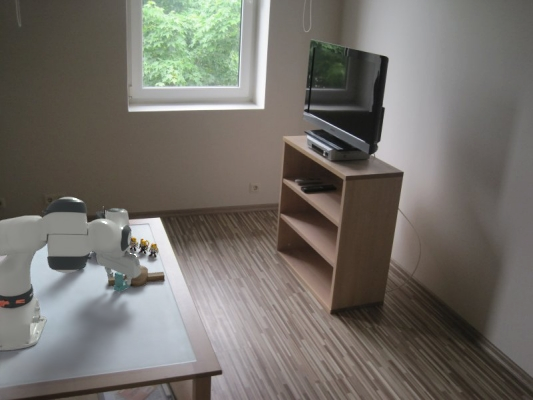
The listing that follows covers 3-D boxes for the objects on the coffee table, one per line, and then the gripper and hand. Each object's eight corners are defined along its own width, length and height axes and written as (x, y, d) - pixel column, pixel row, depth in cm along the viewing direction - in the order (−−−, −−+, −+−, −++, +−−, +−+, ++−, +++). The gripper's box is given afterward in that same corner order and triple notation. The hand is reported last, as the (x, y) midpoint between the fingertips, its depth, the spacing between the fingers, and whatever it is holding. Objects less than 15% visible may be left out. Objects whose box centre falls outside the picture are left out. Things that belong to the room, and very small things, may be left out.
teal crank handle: (124, 283, 229) (124, 268, 227) (130, 286, 228) (130, 270, 225) (113, 290, 224) (112, 274, 222) (119, 292, 223) (118, 276, 220)
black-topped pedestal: (77, 227, 279) (75, 201, 274) (131, 221, 290) (130, 196, 285) (86, 251, 256) (84, 223, 251) (144, 243, 266) (144, 217, 262)
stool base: (165, 284, 232) (165, 270, 230) (109, 289, 225) (108, 276, 223) (160, 266, 246) (159, 253, 244) (106, 271, 239) (106, 258, 237)
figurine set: (131, 246, 262) (131, 233, 260) (160, 255, 256) (160, 242, 253) (126, 249, 259) (126, 236, 257) (156, 258, 253) (156, 245, 250)
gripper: (144, 252, 216) (144, 285, 221) (105, 238, 226) (106, 269, 230) (132, 258, 211) (133, 292, 216) (92, 243, 221) (94, 275, 225)
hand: (119, 280), depth 223 cm, fingers open, 8 cm apart
